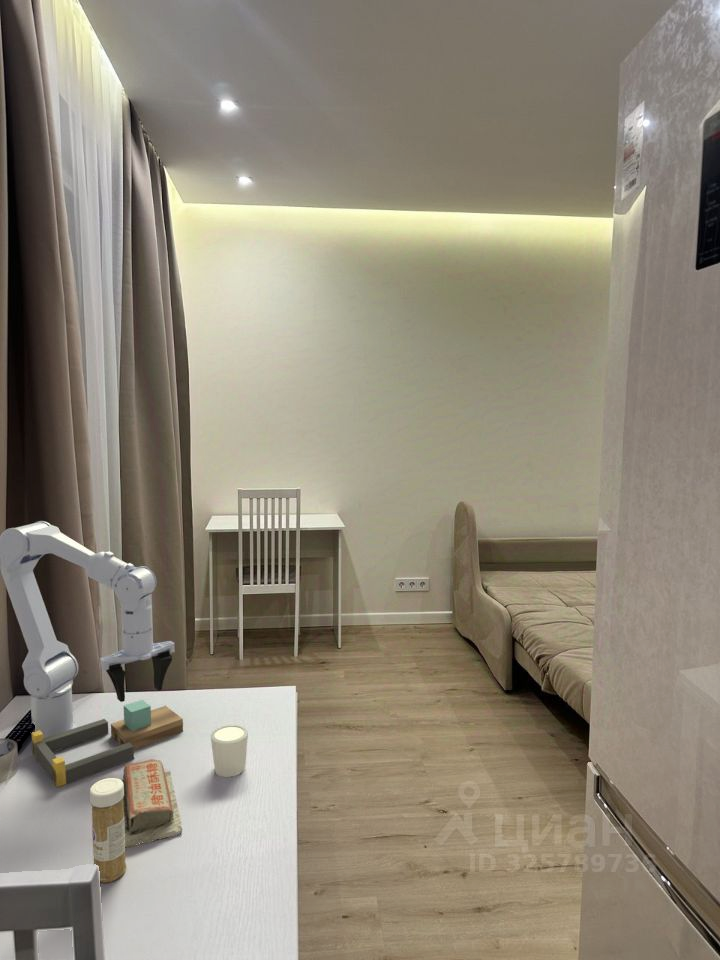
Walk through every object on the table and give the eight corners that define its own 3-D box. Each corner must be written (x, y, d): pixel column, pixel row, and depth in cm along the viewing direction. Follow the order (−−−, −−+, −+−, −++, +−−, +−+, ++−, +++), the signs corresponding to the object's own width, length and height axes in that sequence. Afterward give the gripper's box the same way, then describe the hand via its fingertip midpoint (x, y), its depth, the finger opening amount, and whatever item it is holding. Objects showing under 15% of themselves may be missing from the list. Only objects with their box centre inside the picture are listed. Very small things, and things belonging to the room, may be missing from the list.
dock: (32, 753, 123) (31, 732, 123) (104, 730, 133) (103, 710, 132) (57, 787, 112) (56, 764, 112) (133, 758, 122) (133, 737, 121)
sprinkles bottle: (87, 874, 91) (83, 786, 90) (117, 857, 95) (113, 772, 93) (103, 889, 88) (99, 799, 87) (133, 871, 92) (129, 784, 90)
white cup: (231, 754, 123) (230, 720, 123) (256, 766, 119) (255, 731, 119) (203, 770, 118) (202, 735, 117) (228, 783, 114) (228, 746, 113)
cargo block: (124, 724, 130) (123, 705, 129) (143, 717, 133) (142, 699, 132) (132, 731, 127) (131, 712, 127) (151, 724, 130) (150, 706, 129)
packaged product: (111, 763, 112) (169, 752, 116) (112, 789, 113) (170, 777, 117) (114, 823, 96) (182, 808, 100) (116, 853, 96) (183, 836, 100)
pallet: (111, 737, 130) (110, 723, 130) (166, 718, 138) (165, 705, 138) (126, 752, 124) (126, 738, 124) (183, 732, 132) (182, 718, 132)
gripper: (108, 643, 118) (110, 712, 120) (180, 626, 128) (182, 690, 129) (95, 633, 123) (97, 699, 125) (165, 617, 133) (167, 679, 134)
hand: (139, 694), depth 127 cm, fingers open, 7 cm apart
